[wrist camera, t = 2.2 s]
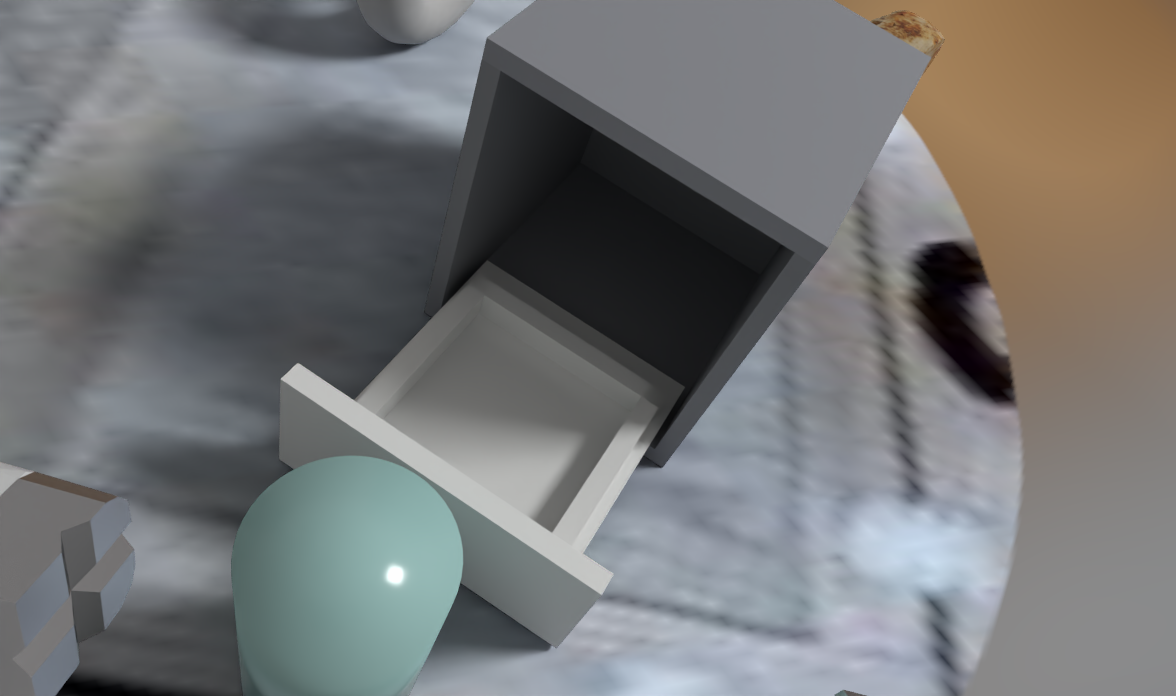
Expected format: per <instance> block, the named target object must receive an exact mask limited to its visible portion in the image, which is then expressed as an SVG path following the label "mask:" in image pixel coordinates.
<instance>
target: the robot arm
mask: <svg viewBox="0 0 1176 696" xmlns="http://www.w3.org/2000/svg"><path fill="white" fill-rule="evenodd" d="M130 523H131V515H130V508H129V502H128V500H127V499H124V498H121V497H118V496H115V495H112V494H108V493H105V492H102V491H98V490H95V489H92V488H88V487H85V486H81V485H78V484H75V483H71V482H68V481H65V480H61V479H58V478H55V477H51V476H48V475H45V474H41V473H38V472H34V471H30V470H27V469H23V468H20V467H16V466H12V465H9V464H5V463H2V462H0V696H55V695H56V694H57V693H58V691H59V690H60V689H61V687H62V686H63V685H64V683H65V682H66V681H67V680H68V678H69V677H70V676H71V674H72V673H73V672H74V670H75V669H76V668H77V666H78V665H79V664H80V662H79V643H80V642H82V641H84V640H86V639H88V638H90V637H92V636H94V635H97V634H99V633H101V632H103V631H105V630H106V628H107V627H108V625H109V624H110V623H111V621H112V620H113V619H114V617H115V616H116V614H117V613H118V612H119V610H120V609H121V607H122V605H123V602H124V600H125V598H126V596H127V594H128V591H129V589H130V587H131V585H132V581H133V575H134V570H135V552H134V548H133V547H132V546H131V545H130V543H129V542H128V541H127V540H126V539H125V537H124V536H123V535H122V532H123V531H124V530H125V529H126V527H127V526H128V525H129V524H130ZM835 696H866V695H862V694H858V693H854V692H850V691H846V690H842V691H840V692H839V693H837V694H835Z"/></svg>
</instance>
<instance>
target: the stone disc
mask: <svg viewBox="0 0 1176 696" xmlns="http://www.w3.org/2000/svg"><path fill="white" fill-rule="evenodd" d="M870 22H871V23H873V24H875V25H877V26H878V27H880V28H882V29H883V30H885V31H887V32H889V33H890V34H892V35H894V36H895V37H897V38H899V39H901V40H902V41H904V42H906V43H907V44H909V45H911V46H912V47H914V48H916V49H918V50H919V51H921V52H923V53H924V54H926V55H928V56H930V57H931V59H930V61H929V63H928V65H927V67H926V68H925V70H924V72H925V71H926V70H927V68H928V67H929V65H930V64H931V63H932V61H933V59H934V58H935V56H936V55H937V53H938V52H939V50H940V48H941V46H942V44H943V43H944V40H945V39H944V37H943V36H942V34H941V33H940V32H939V31H938V29H937V28H936V27H934V26H933V25H932V24H931V23H930V22H929V21H927V20H925V19H924V18H922V17H920V16H918V15H916V14H915V13H912V12H908V11H905V10H902V11H896V12H893V13H891V14H889V15H886V16H882V17H881V18H877V19H874V20H872V21H870ZM924 72H923V73H924ZM922 75H923V74H922Z"/></svg>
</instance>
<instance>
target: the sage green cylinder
mask: <svg viewBox="0 0 1176 696" xmlns="http://www.w3.org/2000/svg"><path fill="white" fill-rule="evenodd" d="M462 569H463V548H462V542H461V536H460V533H459V530H458V526H457V523H456V521H455V519H454V517H453V515H452V512H451V511H450V509H449V508H448V506H447V504H446V503H445V501H444V500H443V499H442V498H441V496H440V495H439V494H438V493H437V491H436V490H435V489H434V488H432V487H431V486H430V485H429V484H428V483H427V482H426V481H425V480H423V479H422V478H420V477H419V476H418V475H416V474H415V473H413V472H411V471H409V470H408V469H406V468H404V467H402V466H399V465H397V464H394V463H392V462H389V461H385V460H382V459H378V458H372V457H366V456H336V457H330V458H325V459H320V460H317V461H314V462H311V463H307V464H305V465H303V466H300V467H298V468H296V469H294V470H292V471H290V472H289V473H287V474H285V475H284V476H282V477H280V478H279V479H278V480H276V481H275V482H274V483H273V484H271V485H270V486H269V487H268V488H267V489H266V490H265V491H264V492H263V493H262V494H261V495H260V496H259V497H258V498H257V499H256V501H255V502H254V503H253V504H252V506H251V507H250V508H249V510H248V512H247V513H246V515H245V517H244V518H243V520H242V522H241V525H240V527H239V529H238V532H237V535H236V538H235V542H234V545H233V551H232V559H231V577H232V588H233V599H234V610H235V621H236V632H237V643H238V654H239V665H240V676H241V687H242V693H243V696H409V695H410V693H411V691H412V689H413V686H414V684H415V682H416V680H417V678H418V676H419V674H420V672H421V670H422V668H423V665H424V663H425V661H426V659H427V657H428V655H429V653H430V651H431V649H432V646H433V644H434V642H435V640H436V638H437V636H438V634H439V632H440V630H441V628H442V625H443V623H444V621H445V619H446V617H447V615H448V613H449V611H450V609H451V607H452V604H453V602H454V600H455V597H456V595H457V592H458V589H459V585H460V581H461V577H462Z"/></svg>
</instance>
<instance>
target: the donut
mask: <svg viewBox="0 0 1176 696" xmlns="http://www.w3.org/2000/svg"><path fill="white" fill-rule="evenodd" d="M474 1H475V0H357V3H358V5H359V8H360V11H361V13H362V15H363V17H364V19H365V21H366V23H367V24H368V25H369V26H370V27H371V28H372V29H374V30H375V31H376V32H377V33H378V34H380V35H381V36H382V37H383V38H385V39H386V40H389V41H391V42H393V43H401V44H420V43H423V42H426V41H428V40H430V39H433V38H435V37H437V36H440V35H441V34H442V33H444V32H445V31H446V30H447V29H448V28H450V27H451V26H452V25H453V24H455V23H456V22H457V21H458V20H459V19H460V17H461V16H462V15H463V14H464V13H465V12H466V11H467V9H468V8H469V7H470V6H471V5H472V4H473V2H474Z"/></svg>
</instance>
